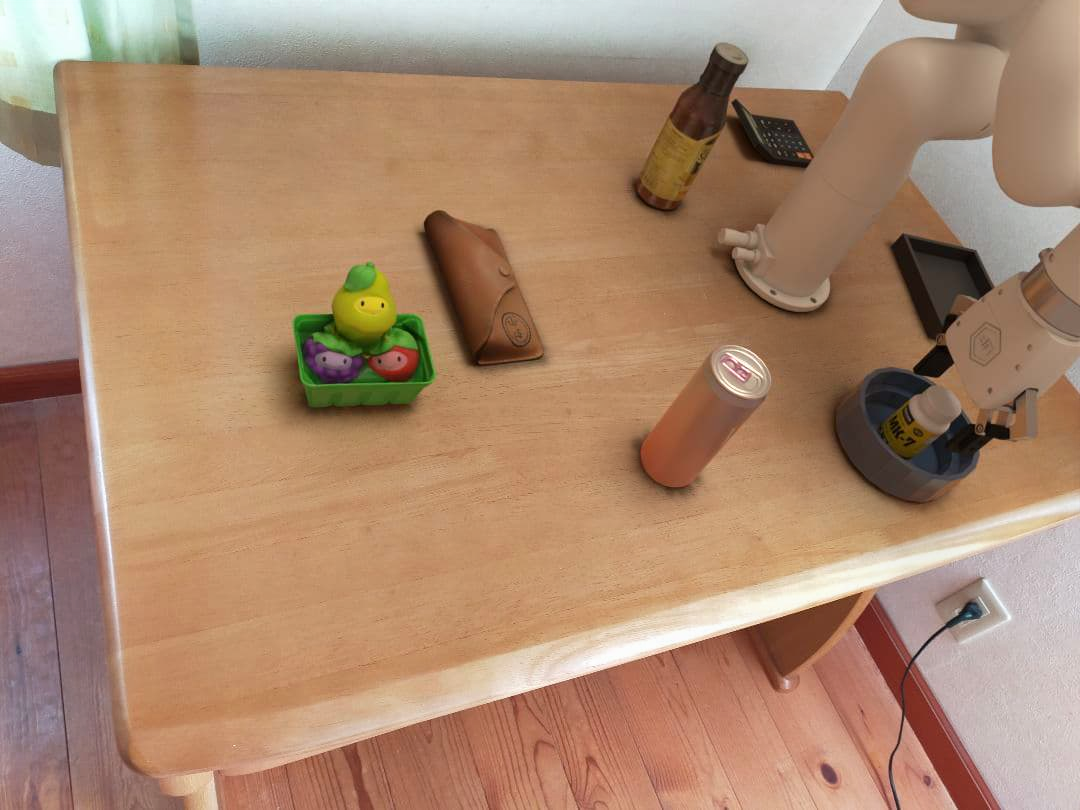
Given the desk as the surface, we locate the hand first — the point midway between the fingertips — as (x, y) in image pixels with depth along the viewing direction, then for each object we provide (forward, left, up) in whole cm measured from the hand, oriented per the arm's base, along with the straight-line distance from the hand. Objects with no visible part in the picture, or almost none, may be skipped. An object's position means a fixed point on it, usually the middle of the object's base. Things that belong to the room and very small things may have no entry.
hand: (940, 411), depth 90 cm
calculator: (-3, +52, -8) cm, 52 cm away
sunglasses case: (-46, +13, -8) cm, 48 cm away
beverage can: (-28, -5, -8) cm, 30 cm away
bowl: (0, +1, -8) cm, 8 cm away
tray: (+18, +27, -8) cm, 33 cm away
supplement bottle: (0, +1, -7) cm, 7 cm away
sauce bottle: (-23, +35, -8) cm, 42 cm away
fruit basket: (-58, 0, -8) cm, 59 cm away
